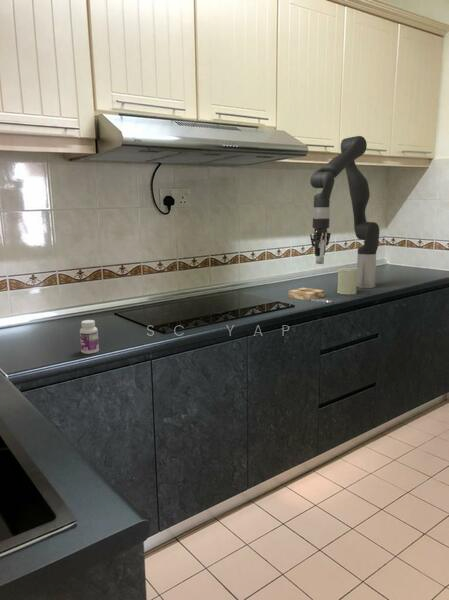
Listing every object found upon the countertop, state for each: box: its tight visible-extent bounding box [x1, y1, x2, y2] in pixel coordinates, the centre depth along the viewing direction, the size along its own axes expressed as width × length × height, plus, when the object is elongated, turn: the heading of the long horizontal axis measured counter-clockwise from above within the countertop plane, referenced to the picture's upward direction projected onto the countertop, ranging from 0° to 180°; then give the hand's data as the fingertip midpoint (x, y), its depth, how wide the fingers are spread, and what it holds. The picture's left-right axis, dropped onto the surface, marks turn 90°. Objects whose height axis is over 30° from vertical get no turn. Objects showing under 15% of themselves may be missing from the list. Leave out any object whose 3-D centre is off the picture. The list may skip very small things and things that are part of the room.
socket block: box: [287, 287, 325, 301], centre depth 227 cm, size 12×12×3 cm
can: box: [336, 267, 357, 296], centre depth 235 cm, size 9×9×12 cm
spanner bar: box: [310, 298, 333, 304], centre depth 216 cm, size 11×3×1 cm, turn 45°
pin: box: [315, 240, 325, 265], centre depth 221 cm, size 4×4×11 cm
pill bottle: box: [79, 319, 100, 355], centre depth 149 cm, size 5×5×10 cm
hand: (319, 255), depth 222 cm, fingers closed on pin, 3 cm apart
